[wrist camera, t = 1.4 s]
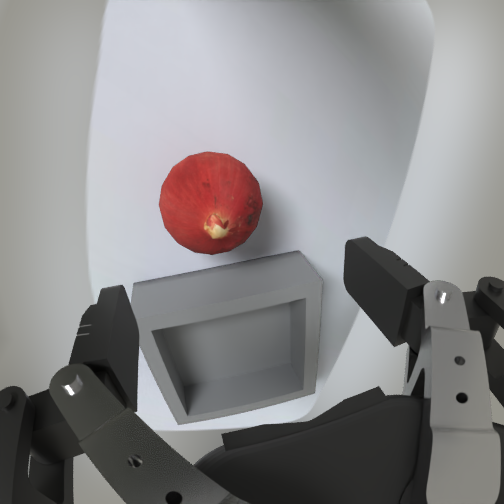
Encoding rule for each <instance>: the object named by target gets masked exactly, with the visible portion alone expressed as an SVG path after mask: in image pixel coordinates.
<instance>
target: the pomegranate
mask: <svg viewBox="0 0 504 504" xmlns="http://www.w3.org/2000/svg"><path fill="white" fill-rule="evenodd" d="M262 205H263V202H262V197H261V192H260V187H259V183H258V181H257V180H256V178H255V177H254V176H253V174H252V173H251V172H250V171H249V169H248V168H247V167H246V165H245V164H244V163H242V162H240V161H239V160H237V159H235V158H234V157H232V156H230V155H228V154H223V153H215V152H203V153H199V154H195V155H190V156H188V157H187V158H185V159H184V160H182V161H181V162H179V163H178V164H176V165H175V166H173V168H172V169H171V171H170V173H169V174H168V176H167V178H166V179H165V181H164V183H163V185H162V188H161V194H160V201H159V207H160V211H161V215H162V218H163V222H164V226H165V228H166V229H167V231H168V232H169V233H170V234H171V236H172V237H173V238H174V239H175V240H176V242H177V243H178V244H180V245H182V246H184V247H185V248H187V249H189V250H191V251H193V252H195V253H203V254H210V255H213V254H218V253H223V252H228V251H230V250H232V249H234V248H236V247H237V246H239V245H241V244H243V243H244V242H245V241H246V240H247V239H248V237H249V236H250V235H251V233H252V232H253V231H254V230H255V228H256V227H257V224H258V220H259V216H260V213H261V209H262Z"/></svg>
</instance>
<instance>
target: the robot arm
mask: <svg viewBox="0 0 504 504" xmlns="http://www.w3.org/2000/svg"><path fill="white" fill-rule="evenodd" d="M344 284H345V287H346V290H347V292H348V293H349V294H350V295H351V296H352V298H353V299H354V300H355V301H356V302H357V303H358V305H359V306H360V307H361V308H362V309H363V310H364V312H365V313H366V314H367V315H368V316H369V318H370V319H371V320H372V321H373V322H374V323H375V325H376V326H377V327H378V328H379V329H380V331H381V332H382V333H383V334H384V335H385V336H386V338H387V339H388V340H389V341H390V343H391V344H392V345H393V346H394V347H395V346H398V345H400V344H403V343H405V342H407V343H408V345H409V346H408V349H407V354H406V367H405V377H404V387H403V394H402V395H387V396H385V394H384V393H383V392H382V390H381V388H380V387H379V386H378V387H376V388H373V389H371V390H368V391H366V392H363V393H361V394H358V395H356V396H353V397H350V398H347V399H345V400H343V401H342V402H340V403H339V404H337V405H336V406H334V407H332V408H331V409H329V410H328V411H326V412H324V413H323V414H321V415H319V416H318V417H316V418H314V419H312V420H310V421H307V422H297V423H283V424H263V425H259V426H255V427H251V428H247V429H242V430H238V431H233V432H229V433H224V434H222V438H223V443H224V445H223V446H221V447H218V448H216V449H215V450H213V451H211V452H209V453H208V454H206V455H205V456H203V457H202V458H201V459H199V460H198V461H197V462H196V463H195V464H194V465H192V464H191V463H190V462H189V461H187V460H186V459H185V458H184V457H183V456H181V455H180V454H179V453H178V452H177V451H176V450H174V449H173V448H172V447H171V446H170V445H168V444H167V443H166V442H165V441H164V440H163V439H162V438H161V437H160V436H159V435H158V434H156V433H155V432H154V431H153V430H152V429H151V428H150V427H149V426H148V425H147V424H146V423H145V422H144V421H143V420H142V419H141V418H140V417H139V416H138V415H137V414H136V413H135V412H137V386H138V357H139V329H138V324H137V321H136V318H135V315H134V313H133V310H132V307H131V305H130V302H129V299H128V296H127V293H126V291H125V288H124V286H123V285H118V286H112V287H107V288H102V289H101V291H100V295H99V298H98V302H97V304H94V305H90V307H89V308H88V309H87V310H86V312H85V313H84V314H83V316H82V318H81V322H80V328H79V329H78V332H77V336H76V339H75V342H74V346H73V350H72V353H71V357H70V361H69V365H67V366H65V367H63V368H61V369H60V370H59V371H58V372H56V374H55V375H54V376H53V377H52V379H51V381H50V384H49V389H47V390H45V391H42V392H40V393H37V394H34V395H31V396H29V397H28V396H27V395H26V393H25V392H24V391H23V389H21V388H20V387H17V386H10V387H7V388H5V389H3V390H1V391H0V504H74V502H73V457H75V456H77V455H80V454H83V453H85V454H86V455H87V456H88V457H89V459H90V460H91V462H92V463H93V464H94V466H95V467H96V468H97V469H98V471H99V472H100V473H101V475H102V476H103V477H104V478H105V480H106V481H107V482H108V483H109V484H110V486H111V487H112V488H113V489H114V490H115V491H116V493H117V494H118V495H119V496H120V497H121V498H122V499H123V501H124V502H125V503H126V504H504V425H501V424H497V423H494V422H492V412H491V401H490V390H491V392H492V393H493V394H494V395H495V397H496V398H497V399H498V401H499V402H500V403H501V405H502V406H503V407H504V349H503V348H502V347H501V346H500V345H499V344H498V343H497V342H496V340H495V339H494V337H495V335H496V333H497V330H498V328H499V326H501V327H502V328H503V329H504V281H502V280H500V279H498V278H495V277H483V278H481V279H480V280H479V282H478V285H477V289H476V291H472V292H461V290H460V289H459V288H458V287H457V286H455V285H454V284H452V283H449V282H446V281H439V280H436V281H431V282H430V281H428V280H427V279H426V278H425V277H424V276H423V275H421V274H420V273H419V272H418V271H417V270H415V269H414V268H413V267H411V266H410V265H408V263H407V262H405V261H404V260H403V259H402V260H401V258H400V257H399V256H398V255H396V254H395V253H394V252H393V251H390V250H388V249H386V248H383V247H381V246H379V245H377V244H376V243H375V242H373V241H372V240H371V239H370V238H368V237H361V238H356V239H351V240H348V241H347V242H346V245H345V260H344ZM489 389H490V390H489ZM29 455H31V459H30V469H29V477H28V464H29Z"/></svg>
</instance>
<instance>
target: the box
mask: <svg viewBox="0 0 504 504" xmlns="http://www.w3.org/2000/svg"><path fill="white" fill-rule="evenodd" d="M321 302H322V279H321V277H320V276H319V275H318V273H317V272H316V271H315V270H314V268H313V267H312V266H311V265H310V263H309V262H308V261H307V260H306V258H305V257H304V256H303V255H302V253H301V252H300V251H299V250H298V251H293V252H288V253H283V254H278V255H273V256H268V257H264V258H259V259H254V260H249V261H244V262H239V263H234V264H229V265H224V266H219V267H213V268H208V269H203V270H198V271H193V272H188V273H183V274H178V275H173V276H168V277H163V278H158V279H152V280H147V281H142V282H137V283H134V284H133V291H132V298H131V307H132V310H133V313H134V315H135V318H136V321H137V324H138V329H139V346H140V348H141V350H142V352H143V355H144V357H145V359H146V361H147V364H148V366H149V368H150V370H151V372H152V374H153V377H154V379H155V381H156V383H157V385H158V387H159V389H160V391H161V393H162V395H163V397H164V399H165V401H166V403H167V405H168V407H169V409H170V411H171V413H172V414H173V416H174V418H175V420H176V422H177V424H178V425H181V424H188V423H194V422H199V421H205V420H210V419H215V418H220V417H225V416H230V415H235V414H239V413H244V412H248V411H252V410H256V409H260V408H264V407H268V406H272V405H276V404H280V403H283V402H287V401H290V400H294V399H297V398H301V397H304V396H307V395H311V394H314V393H315V387H316V376H317V364H318V352H319V337H320V321H321Z"/></svg>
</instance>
